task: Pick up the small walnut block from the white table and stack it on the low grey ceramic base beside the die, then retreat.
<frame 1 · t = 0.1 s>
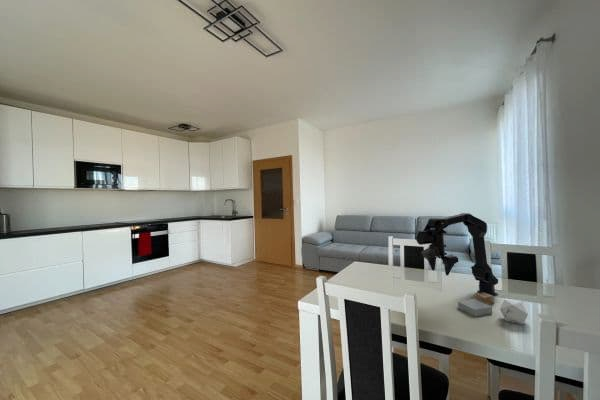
hand: (439, 272, 119), 15 cm above the table, fingers open, 9 cm apart
die: (514, 321, 96), on the table
block: (484, 302, 114), on the table
base: (474, 310, 107), on the table
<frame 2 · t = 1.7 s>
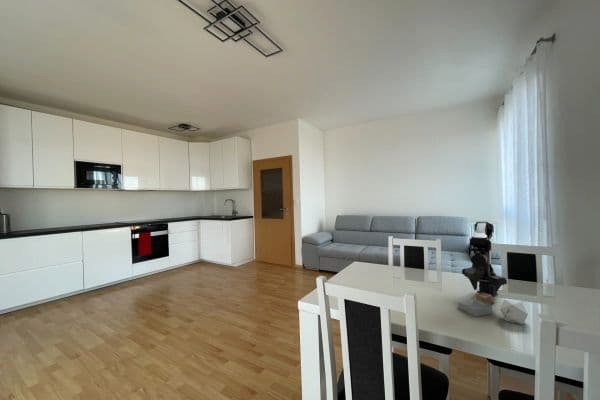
hand: (484, 293, 114), 5 cm above the table, fingers open, 9 cm apart
nothing on the table moved.
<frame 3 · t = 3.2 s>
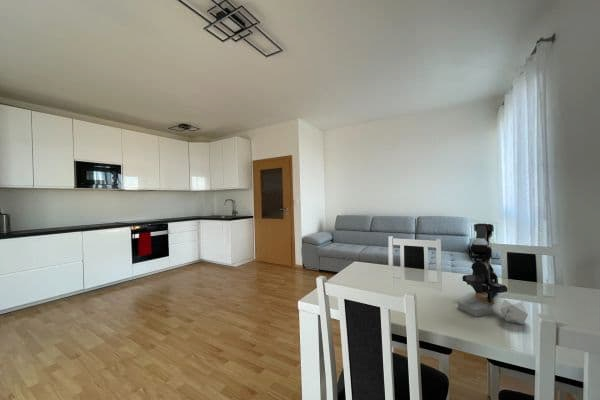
hand: (484, 300, 114), 1 cm above the table, fingers closed on block, 5 cm apart
block: (484, 302, 114), on the table, touching gripper
everything else where it was.
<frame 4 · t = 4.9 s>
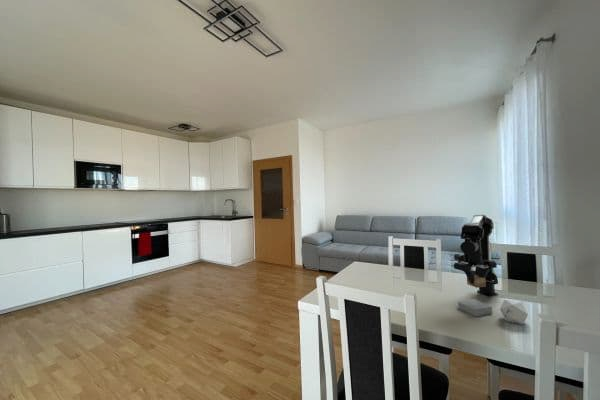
hand: (476, 283, 109), 12 cm above the table, fingers closed on block, 5 cm apart
block: (476, 285, 109), point 10 cm above the table, touching gripper
everything else where it was.
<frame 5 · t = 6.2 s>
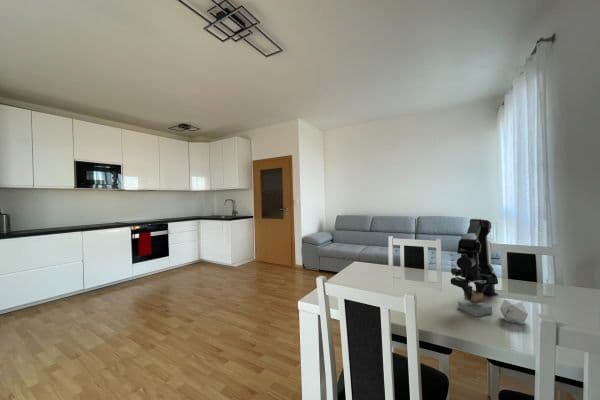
hand: (473, 298, 107), 5 cm above the table, fingers closed on block, 5 cm apart
block: (473, 300, 107), point 4 cm above the table, touching gripper
everything else where it was.
when the fingers open (5 cm above the table, at t = 7.1 s): block stays where it is, resting on base.
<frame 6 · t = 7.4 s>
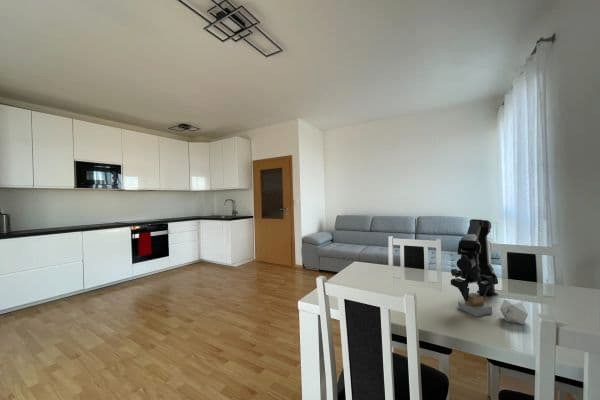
hand: (473, 299, 107), 5 cm above the table, fingers open, 8 cm apart
block: (474, 303, 107), point 3 cm above the table, touching base
everything else where it was.
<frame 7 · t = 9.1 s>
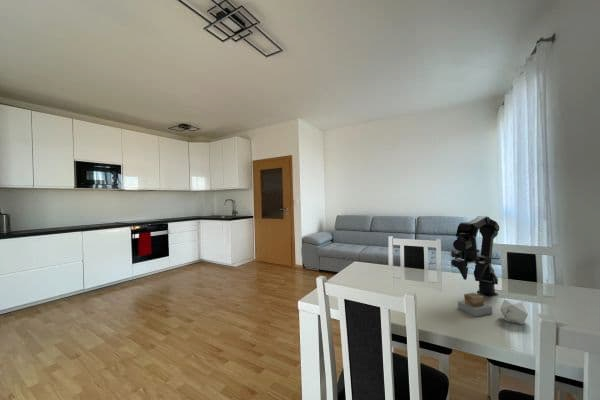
hand: (472, 278, 116), 12 cm above the table, fingers open, 9 cm apart
nothing on the table moved.
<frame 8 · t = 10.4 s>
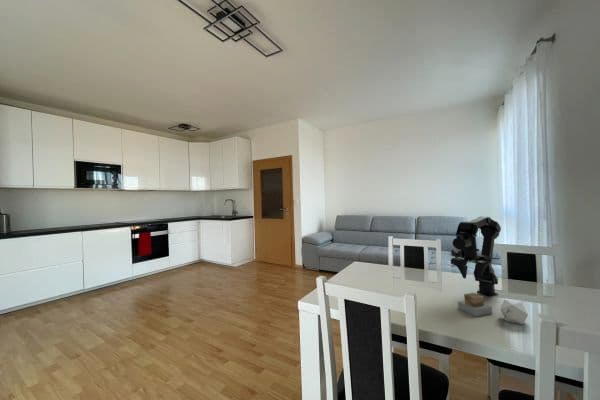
hand: (472, 277, 116), 12 cm above the table, fingers open, 9 cm apart
nothing on the table moved.
at the end: block inside the target area on the base (0.1 cm from its centre), point 3.0 cm above the base's base; block tilted 0°; the gripper is holding nothing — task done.
